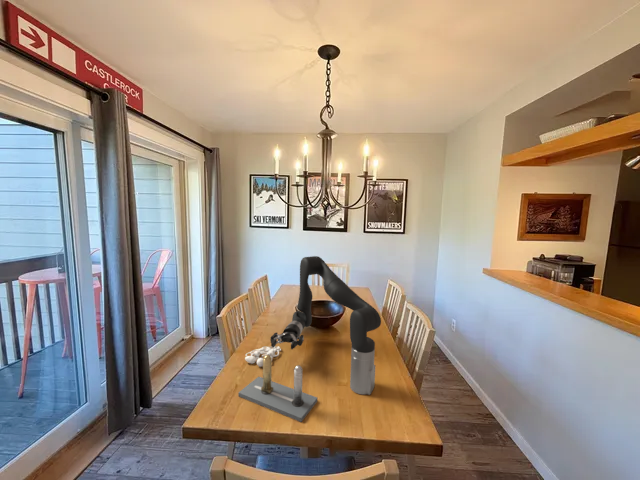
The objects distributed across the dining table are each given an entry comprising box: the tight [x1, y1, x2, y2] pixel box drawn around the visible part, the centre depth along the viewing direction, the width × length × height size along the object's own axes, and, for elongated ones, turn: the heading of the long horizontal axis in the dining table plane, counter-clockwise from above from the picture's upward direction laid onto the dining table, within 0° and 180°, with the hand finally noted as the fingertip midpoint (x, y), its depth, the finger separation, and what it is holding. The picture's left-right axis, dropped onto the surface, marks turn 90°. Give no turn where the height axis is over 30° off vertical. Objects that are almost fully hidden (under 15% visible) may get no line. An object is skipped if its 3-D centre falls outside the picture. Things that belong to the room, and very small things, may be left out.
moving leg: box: [261, 354, 273, 393], centre depth 109 cm, size 4×3×14 cm
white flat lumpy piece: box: [244, 345, 282, 368], centre depth 138 cm, size 19×14×4 cm
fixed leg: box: [293, 365, 303, 405], centre depth 103 cm, size 3×3×14 cm
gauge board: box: [237, 376, 319, 423], centre depth 108 cm, size 28×12×2 cm, turn 63°
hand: (282, 346), depth 121 cm, fingers open, 8 cm apart
